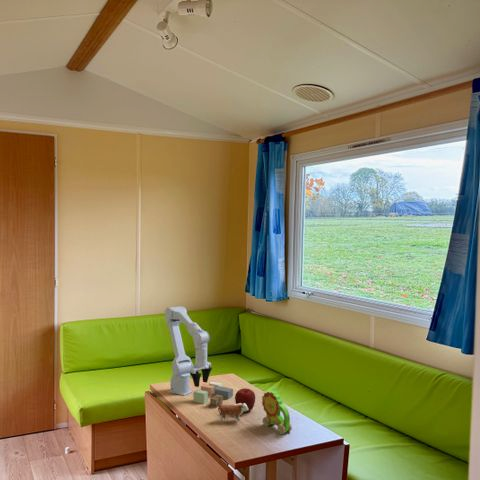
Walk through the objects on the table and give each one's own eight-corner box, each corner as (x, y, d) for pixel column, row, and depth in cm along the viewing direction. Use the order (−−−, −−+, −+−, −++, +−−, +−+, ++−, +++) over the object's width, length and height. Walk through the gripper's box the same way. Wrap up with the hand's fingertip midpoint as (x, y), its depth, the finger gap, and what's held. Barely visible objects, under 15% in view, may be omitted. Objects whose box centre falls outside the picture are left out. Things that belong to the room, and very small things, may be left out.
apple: (235, 414, 226) (236, 393, 225) (234, 406, 235) (234, 386, 235) (256, 414, 227) (256, 392, 226) (253, 406, 236) (254, 385, 236)
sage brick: (193, 401, 241) (193, 391, 241) (197, 399, 244) (197, 389, 244) (203, 404, 239) (204, 393, 238) (207, 401, 242) (207, 391, 241)
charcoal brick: (214, 396, 249) (214, 389, 249) (219, 393, 253) (219, 386, 253) (228, 399, 245) (228, 391, 245) (232, 396, 250) (233, 388, 249)
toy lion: (292, 432, 208) (293, 396, 207) (282, 435, 205) (283, 399, 204) (267, 420, 221) (268, 386, 220) (258, 422, 217) (259, 388, 217)
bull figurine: (248, 423, 217) (248, 404, 216) (217, 422, 217) (218, 404, 217) (248, 419, 221) (248, 401, 221) (218, 418, 221) (218, 400, 221)
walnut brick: (216, 408, 234) (216, 399, 234) (210, 406, 235) (210, 398, 235) (222, 404, 239) (222, 395, 239) (216, 402, 241) (216, 394, 241)
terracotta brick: (200, 393, 253) (200, 386, 252) (204, 391, 256) (204, 384, 255) (210, 396, 250) (210, 388, 250) (214, 394, 253) (214, 386, 253)
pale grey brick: (208, 390, 257) (208, 383, 257) (212, 388, 260) (212, 381, 260) (218, 392, 254) (218, 385, 254) (221, 390, 257) (222, 383, 257)
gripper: (200, 361, 232) (199, 390, 233) (216, 354, 245) (215, 381, 246) (187, 359, 236) (187, 387, 236) (204, 352, 248) (203, 379, 249)
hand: (200, 384), depth 241 cm, fingers open, 7 cm apart
